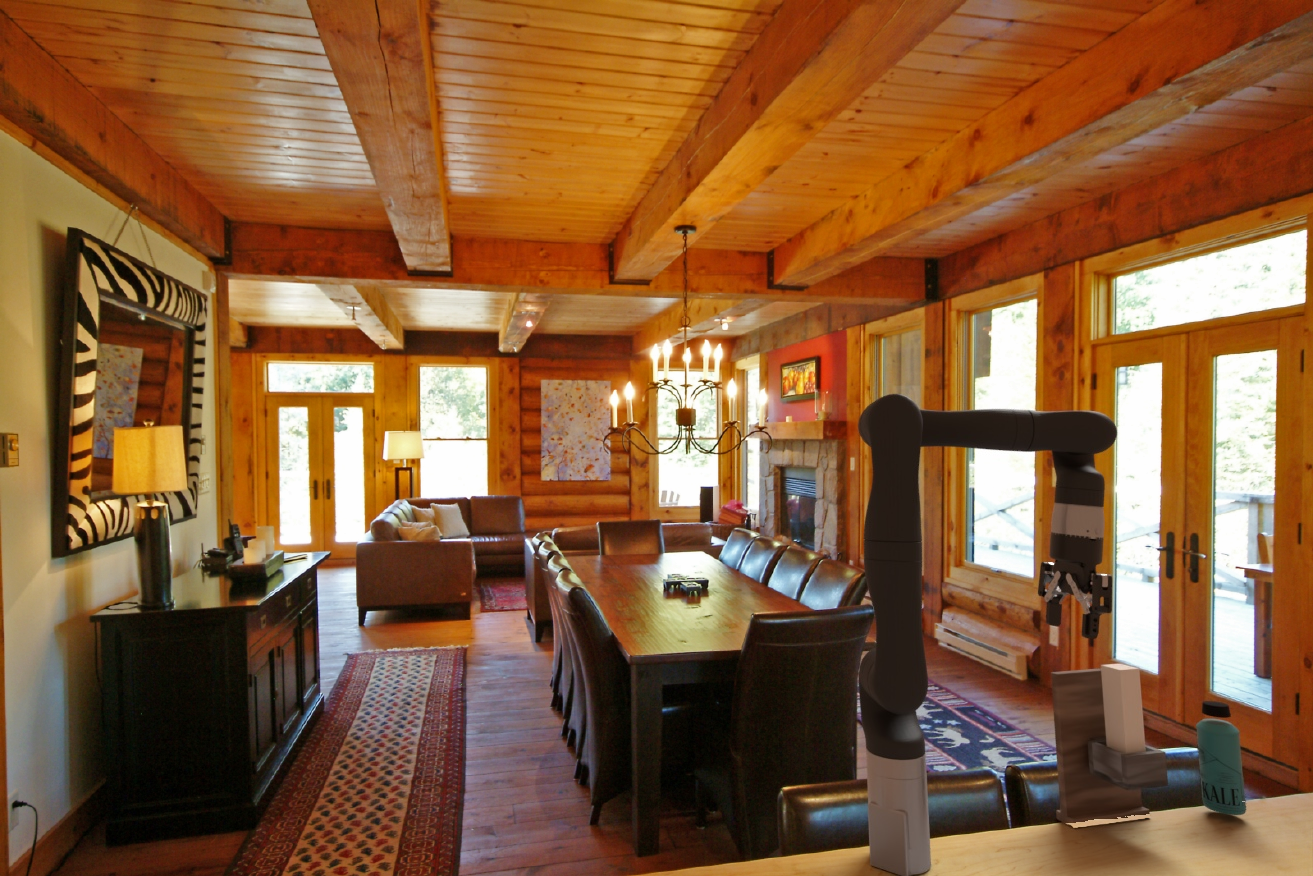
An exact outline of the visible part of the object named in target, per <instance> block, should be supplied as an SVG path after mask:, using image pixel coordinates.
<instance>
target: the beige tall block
mask: <svg viewBox="0 0 1313 876" xmlns="http://www.w3.org/2000/svg"><path fill="white" fill-rule="evenodd" d="M1100 668H1101V675H1102V688H1103V702H1104V716H1105V729H1106V743H1107V747H1110V748H1112V749H1115V750H1117V751H1120V752H1122V753H1125V754H1129V753H1138V752H1146V748H1145V745H1146V738H1145V737H1146V736H1145V725H1144V710H1143V701H1142V700H1143V699H1142V686H1141V674H1140V673H1141V672H1140V668H1139V667H1136V666H1135V667H1134V666H1131V665H1126V664H1123V663H1110V664H1109V663H1107V664H1100Z"/></svg>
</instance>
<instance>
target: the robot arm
mask: <svg viewBox="0 0 1313 876" xmlns="http://www.w3.org/2000/svg"><path fill="white" fill-rule="evenodd" d="M857 429H858V433H859V436H860V437H861V439H862V440H863V442H864V443H865V444H866V445H867V446H869V448H870V453H871V464H872V465H871V466H872V480H871V488H870V493H869V498H868V502H867V507H866V512H865V513H866V514H865V518H864V519H865V520H864V523H863V525H864V527H863V567H864V574H865V575H864V576H865V580H866V585H867V590H868V594H869V597H870V601H871V605H872V609H873V614H874V618H875V630H876V632H875V647H873V648H872V649H870V650H869V651H867V652H866V654H865V655H864V656H863V658H862V659H861V662H860V664H859V668H858V694H859V706H860V718H861V726H862V730H863V733H864V739H865V753H866V754H865V757H866V778H867V779H866V780H867V801H868V802H867V803H868V804H867V816H868V822H867V823H868V838H869V839H868V845H869V858H870V859H869V863H870V866H873V867H874V868H878V869H881V870H884V871H887V872H889V873H893V874H896V875H898V876H913V875H920V874H924V873H926V872H927V871H929V870H930V869H931V867H932V855H931V839H930V838H931V836H930V820H929V819H930V817H929V801H928V798H929V797H928V796H929V795H928V777H927V759H926V757H927V756H926V739H925V736H924V733H923V731H922V728H921V725H920V722H919V720H918V715H917V710H919V708H920V707H921V706H922V705H923V703H924V701H925V700H926V697H927V694H928V690H929V676H928V667H927V666H928V665H927V660H926V651H925V643H924V642H925V641H924V634H923V633H924V632H923V621H922V620H923V536H922V535H923V533H922V517H921V516H922V515H921V514H922V513H921V500H920V499H921V495H920V486H919V485H920V484H919V483H920V482H919V480H920V479H919V475H920V474H919V473H920V459H921V449H922V448H925V447H926V448H927V447H935V448H936V447H943V448H944V447H946V448H947V447H948V448H951V447H952V448H966V449H977V450H988V451H989V450H991V451H1005V452H1024V453H1025V452H1026V453H1027V452H1028V453H1029V452H1030V453H1031V452H1032V453H1033V452H1035V453H1036V452H1044V451H1046V452H1047V451H1051V455H1052V461H1053V468H1054V472H1055V478H1056V480H1055V491H1054V504H1053V510H1052V515H1051V525H1050V540H1049V541H1050V542H1049V557H1050V558H1051V559H1053V560H1055V561H1054V562H1049V561H1048V562H1047V561H1042V562H1040V568H1039V579H1038V588H1037V594H1038V596H1039V597H1043V600H1044V601H1045V602H1046V609H1045V620H1046V621H1045V623H1046V625H1049V626H1052V627H1059V626H1061V624H1062V610H1063V609H1062V608H1063V604H1062V602H1063V601H1064V599H1065V598H1066V596H1069V595H1071V596H1074V598H1075V600H1076V601H1078V602H1079V603H1080V605H1081V608H1082V611H1083V613H1082V619H1081V620H1082V622H1081V623H1082V624H1081V636H1082V637H1083V638H1085V639H1089V640H1090V639H1091V640H1096V639H1097V638H1098V636H1099V633H1100V632H1099V631H1100V630H1099V629H1100V619H1101V618H1100V617H1101V615H1104V614H1111V613H1112V612H1113V576H1112V575H1111V574H1105V573H1098V572H1097V565H1100V564H1102V562H1103V553H1104V539H1105V537H1104V536H1105V513H1104V510H1105V509H1104V506H1105V492H1106V491H1105V490H1106V489H1105V488H1106V481H1105V477H1104V475H1103V474H1102V473H1101V472H1100V471H1097V469H1096V463H1095V455H1096V454H1097V455H1098V454H1101V453H1104V452H1106V451H1107V450H1109V449H1110V448H1111V447H1112V446H1113V445H1114V444H1115V442H1116V439H1117V436H1118V429H1117V426H1116V423H1115V422H1114V421H1113V420H1112V419H1111V418H1110V417H1109V416H1107V415H1106V414H1105V413H1102V412H1099V411H1094V410H1093V411H1092V410H1061V411H1060V410H1057V411H1056V410H1055V411H1042V410H1041V411H1039V410H1031V409H1015V408H1011V409H1010V408H982V409H981V408H979V409H967V410H933V409H932V410H930V409H921V408H919V406H918V405H917V403H916V402H915V401H914V400H913V399H912V398H910V397H908V395H907V396H906V395H905V394H901V393H891V394H890V393H889V394H886V395H883V396H880V397H879V398H877V399H876V400H874V401H873V402H871V403H869V404H868V405H867V406H866V407H865V408H864V409H863V411H862V412H861V413H860V416H859V419H858V424H857ZM1046 584H1048V586H1047V585H1046ZM1046 586H1047V589H1046ZM1101 598H1103V604H1101Z"/></svg>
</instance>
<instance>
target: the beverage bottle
mask: <svg viewBox="0 0 1313 876" xmlns="http://www.w3.org/2000/svg"><path fill="white" fill-rule="evenodd" d="M1201 704H1202V705H1201V706H1202V707H1201V713H1202V715H1205V716H1209V717H1213V718H1203V719H1202V720H1199V722H1197V723H1196V726H1195V727H1196V734H1197V736H1196V737H1197V738H1196V742H1197V745H1196V748H1197V757H1198V762H1199V763H1198V766H1199V768H1198V773H1199V775H1200V776H1199V782H1200V783H1199V785H1200V786H1199V787H1200V797H1201V798H1200V799H1202V800H1201V801H1202V803H1203V805H1204V807H1205V808H1207V809H1209V810H1210V811H1213V812H1216V813H1220V814H1223V815H1229V816H1243V815H1245V814H1246V811H1247V806H1246V805H1247V803H1246V802H1247V798H1246V797H1247V796H1246V791H1245V790H1246V788H1245V783H1244V782H1245V780H1244V775H1243V774H1244V773H1243V763H1242V754H1241V753H1242V751H1241V740H1240V730H1239V729H1238V728H1237V727H1236V726H1234V724H1233V723H1231V722H1230V721H1227V720H1223V718H1224V719H1227V718H1231V717H1232V715H1231V714H1232V713H1231V710H1230V706H1229V704H1228V703H1225V702H1222V701H1221V702H1220V701H1215V700H1205V701H1203V700H1202V702H1201ZM1218 718H1221V719H1218ZM1242 801H1245V802H1242Z"/></svg>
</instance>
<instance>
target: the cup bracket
mask: <svg viewBox="0 0 1313 876" xmlns="http://www.w3.org/2000/svg"><path fill="white" fill-rule="evenodd" d="M1050 679H1051V680H1050V681H1051V691H1052V692H1051V695H1052V708H1053V722H1054V723H1053V724H1054V739H1055V753H1056V767H1057V783H1058V794H1059V796H1058V797H1059V809H1056V810H1055V813H1056V814H1055V815H1056V820H1058V821H1060V822H1062V823H1063V824H1065V823H1076V822H1085V821H1088V820H1094V819H1118V818H1117V817H1121V818H1128V817H1127V816H1131V815H1134V816H1135V815H1146V814H1150V815H1151V810H1150V809H1149V808H1146V807H1145V806H1143V800H1142V790H1146V789H1152V788H1160V787H1161V788H1162V787H1168V786H1169V778H1168V767H1167V754H1166V753H1167V752H1166V751H1164V750H1161V749H1159V748H1155V747H1152V746H1151V745H1148V744H1145V748H1146V752H1138V753H1129V754H1125V753H1122V752H1120V751H1117V750H1115V749H1112V748H1110V747H1107V743H1106V729H1105V716H1104V702H1103V688H1102V675H1101V667H1100V668H1089V669H1078V670H1077V669H1075V670H1065V671H1063V670H1062V671H1052V672H1050ZM1125 816H1126V817H1125Z"/></svg>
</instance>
